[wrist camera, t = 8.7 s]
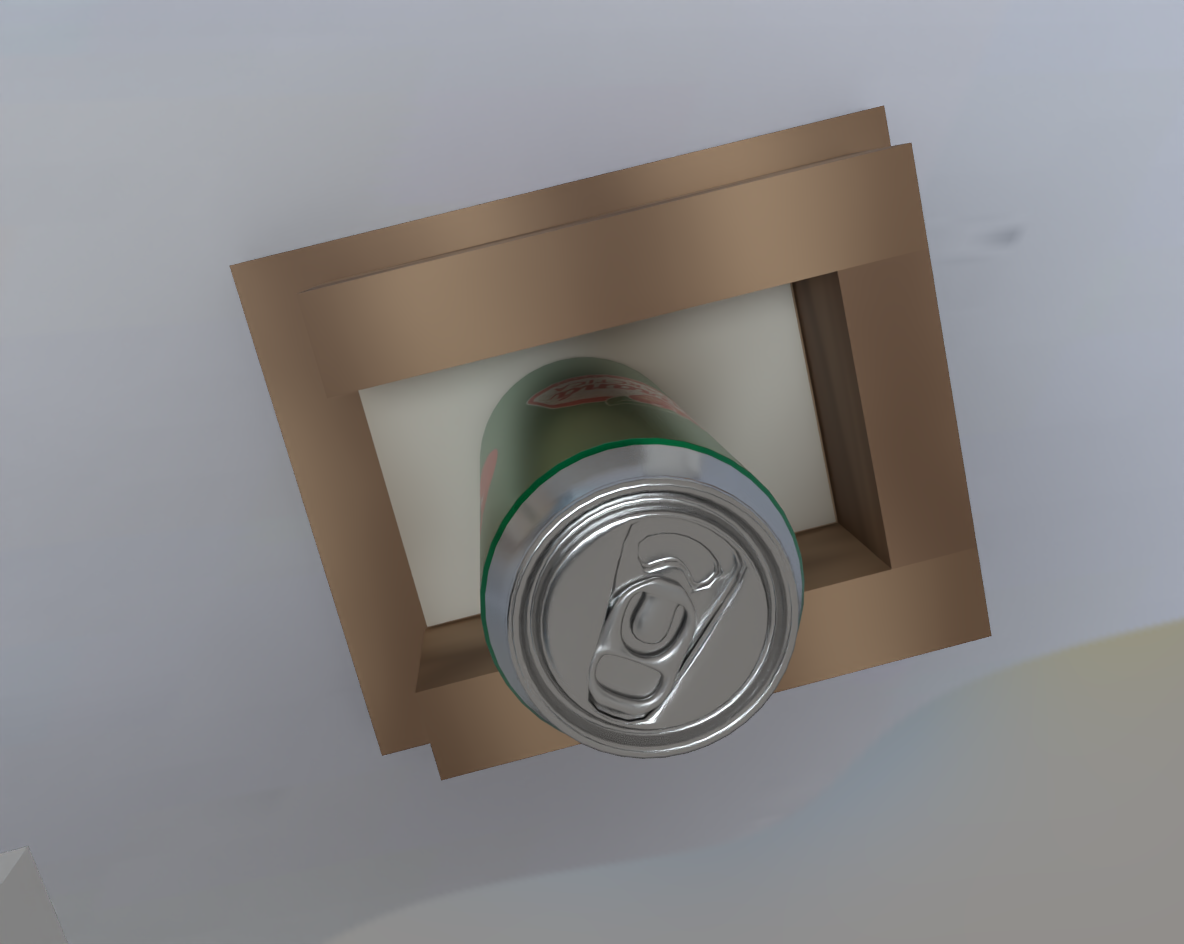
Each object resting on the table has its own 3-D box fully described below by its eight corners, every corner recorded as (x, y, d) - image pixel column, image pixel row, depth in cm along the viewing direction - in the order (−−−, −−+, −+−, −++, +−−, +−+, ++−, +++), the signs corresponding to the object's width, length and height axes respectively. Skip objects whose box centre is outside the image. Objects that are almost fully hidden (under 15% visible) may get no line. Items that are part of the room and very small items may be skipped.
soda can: (714, 398, 28) (882, 525, 16) (636, 581, 29) (743, 825, 17) (524, 322, 27) (557, 399, 15) (449, 513, 28) (428, 722, 16)
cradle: (385, 734, 31) (366, 837, 26) (240, 263, 28) (185, 274, 22) (949, 588, 31) (1038, 660, 26) (867, 110, 28) (951, 87, 23)
